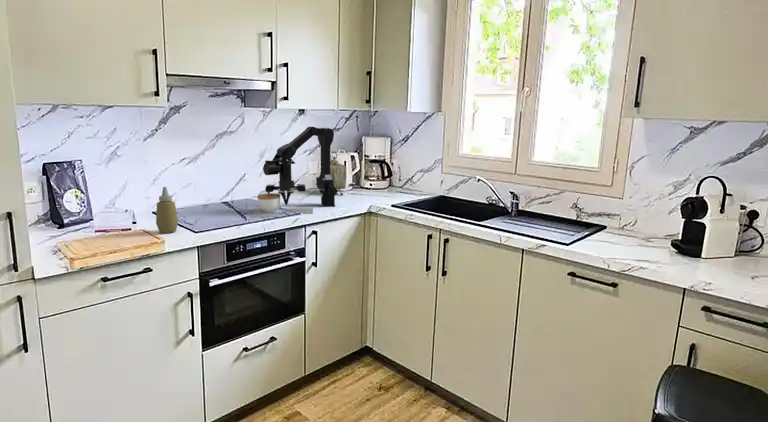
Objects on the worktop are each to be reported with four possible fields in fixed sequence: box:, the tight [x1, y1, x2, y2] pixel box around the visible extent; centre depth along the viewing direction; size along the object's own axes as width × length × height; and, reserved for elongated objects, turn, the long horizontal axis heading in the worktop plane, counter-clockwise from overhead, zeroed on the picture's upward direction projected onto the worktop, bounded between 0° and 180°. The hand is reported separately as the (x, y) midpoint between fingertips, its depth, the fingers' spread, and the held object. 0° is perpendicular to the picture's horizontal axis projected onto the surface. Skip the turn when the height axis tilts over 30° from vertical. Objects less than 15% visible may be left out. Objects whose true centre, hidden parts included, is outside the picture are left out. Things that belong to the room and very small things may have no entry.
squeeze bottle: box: [155, 186, 179, 234], centre depth 195 cm, size 8×8×18 cm
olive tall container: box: [330, 151, 347, 196], centre depth 288 cm, size 14×9×25 cm, turn 30°
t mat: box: [250, 205, 314, 218], centre depth 240 cm, size 28×26×1 cm
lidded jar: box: [256, 192, 281, 212], centre depth 239 cm, size 11×11×9 cm
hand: (286, 205), depth 240 cm, fingers closed
